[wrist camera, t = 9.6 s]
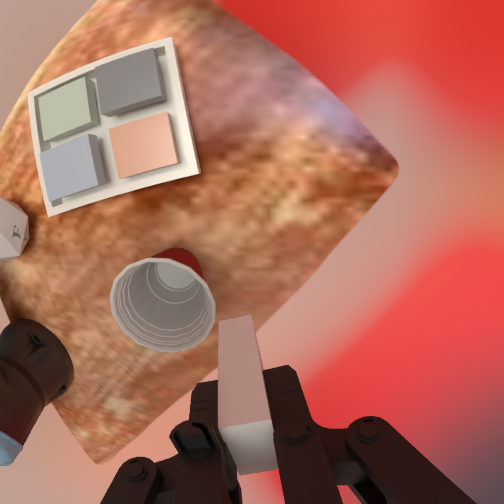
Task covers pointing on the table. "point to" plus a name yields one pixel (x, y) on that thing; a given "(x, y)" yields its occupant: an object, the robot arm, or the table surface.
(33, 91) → the keypad
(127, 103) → the key charcoal
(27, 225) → the die
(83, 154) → the key slate
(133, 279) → the plastic cup
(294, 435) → the robot arm
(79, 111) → the key sage
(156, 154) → the key terracotta
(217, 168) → the table surface
